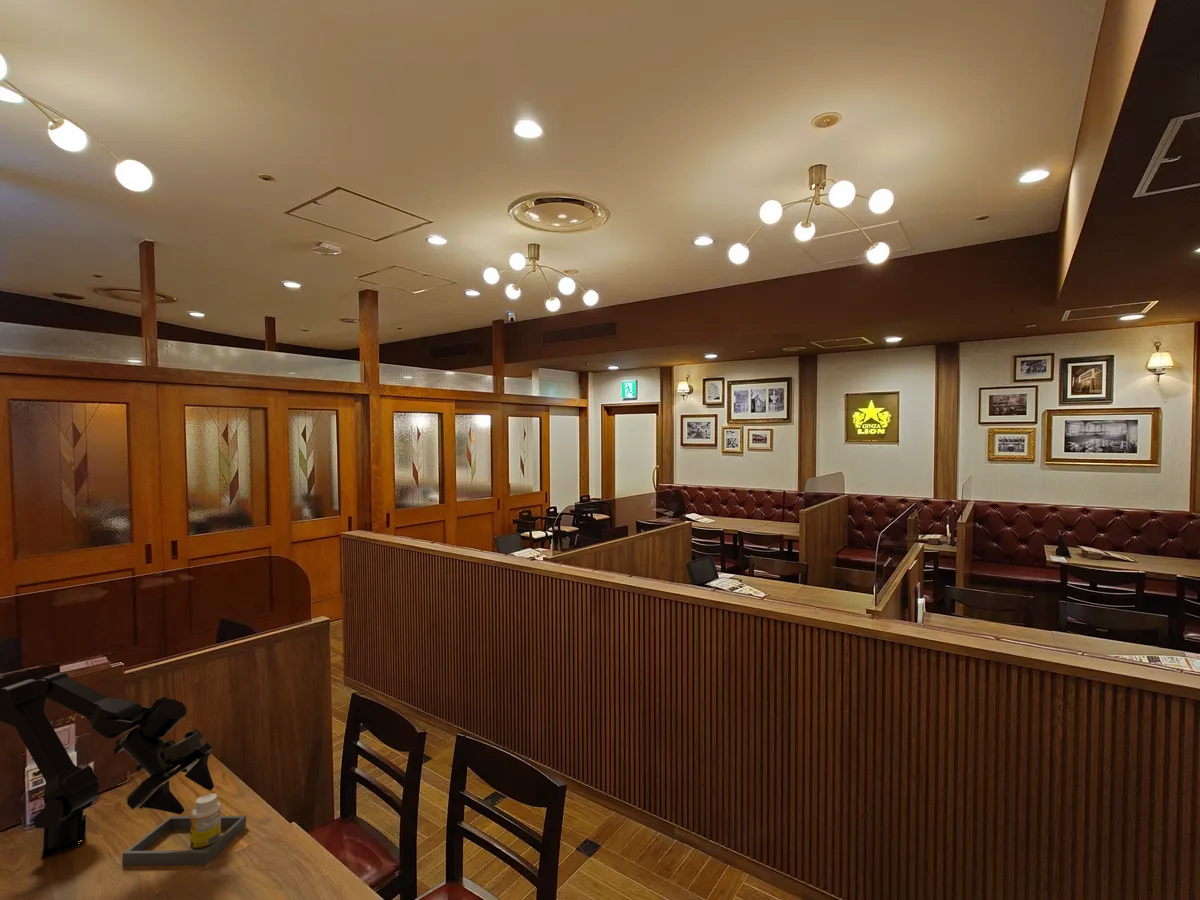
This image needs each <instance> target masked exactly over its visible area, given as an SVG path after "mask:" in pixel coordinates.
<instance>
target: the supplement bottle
mask: <svg viewBox="0 0 1200 900" xmlns="http://www.w3.org/2000/svg"><path fill="white" fill-rule="evenodd" d="M194 806H195V807H194V808H193V809H192V810H191V812H190V816H191V829H190V839H189V840H190V843H189V846H190V850H207V849H208V848H209V847H210V846H211V845H212V844H213V843H214V842H215V841H216V840H217V839H219V838H220V837H221V830H222V829H221V816H222V803H221V802H219V801H218V794H216V793H207V794H204V795H201V796H200V797H198V798H196V800H195V805H194Z"/></svg>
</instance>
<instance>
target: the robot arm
mask: <svg viewBox="0 0 1200 900" xmlns="http://www.w3.org/2000/svg"><path fill="white" fill-rule="evenodd" d="M47 698H48V699H49V700H50V701H53V702H55V703H57V704H59V705H61V706H63V707H65V708H66V709H69V710H70V711H73V712H75V713H77V714H78V715H80V716H83V717H84V718H85V719H87V720H88V721H89V722H90V727H91V729H92V730H94V731H95V732H96V733H98V734H99V735H100V736H101V737H103V738H105V739H109V740H111V739H114V738H117V737H119V736H121V735H122V734H125V733H126V732H128V731H129V733H128V734H126V735H125V736H122V737H121V738H118V739H116V740H115V746H114V749H113V754H114V755H118V753H120V752H122V751H125V752H127V754H128V755H130V757H131V758H132V759H133V760H134V761H135V762H136V763H137V764H138V765H137V766H136V767H135V770H136V771H137V772H141V771H142V770H144V771H145V772H146V774H148V775H149V777H147V778H146V779H145V780H143V781H141V783H140V784H139V785H138V786H137V787H136V788H134V790H133V791H132V792H131V793H130V794H129V795H128V796H126V804H127V805H128V807H130V809H131V810H135V809H136V808H138V809H140V810H142V809H143V808H145V809H153V810H158V811H163V812H168V813H173V814H176V815H182V814H183V813H184V812H185V808H184V806H183V805H182V804H181V802H180V801H179V800H178V798H176V797H175V795H174V794H173V793H172V792H171V790H170V781H169V780H170V779H172V778H173V777H175V776H176V775H177V774H179V773H180V772H181V773H185V774H184V778H187V779H188V780H190V781H192V782H193V783H195V784H197V785H199V786H200V787H201V788H204V789H205V790H208V791H210V792H211V791H212V790H213V789H214V788H215V785H214V782H213V779H212V776H211V773H210V769H209V765H208V761H209V757H210V756H211V754H212V753H211V751H212V750H213V749H214V748H213V747H212V746H211V745H210V744H209V742H201V741H203V740H204V734H203V733H202V732H201V731H200V730H199V729H198V728H196V727H195V728H194V729H191V730H189V731H187V732H186V733H185V734H184V738H183V739H182V740H180V741H178V742H176V741H175V740H173V739H169V740H168V741H166V740H165V739H164V738H163V737H164V736H167V734H168V733H169V732H171V731H172V730H173V728H174V727H175V726H176V725H178V723H179V722H181V720H182V719H183V718H184V717H185V716H186V715H187V707H186V705H185V704H184V703H183V702H182V701H179V700H176V699H173V698H169V699H168V697H167V696H166V695H164V696H162V697H160V698H158V699H156V700H155V701H154V702H153V704H152V705H151V707H150V706H143V705H141V704H140V703H138V702H136V701H133V700H129V699H123V698H113V697H112V698H111V697H108V696H105V695H104V694H102V693H100V692H98V691H96V690H94V689H93V688H90V687H89V686H86V685H84V684H82V683H80V682H78V681H76V680H75V679H73V678H71V677H69V675H68V674H67V672H66V673H65V672H55V673H52V674H50V675H47V676H45V677H41V678H39V679H32V678H31V679H30V678H29V679H26V680H23V681H20V682H17V683H14V684H11V685H8V686H5V687H1V688H0V722H2V723H4V724H7V725H9V726H12V727H14V729H15V730H16V731H17V733H18V735H19V737H20V738H21V740H22V742H23V744H24V746H25V748H26V750H27V751H28V753H29V755H30V756H31V759H32V760H33V761H34V763H35V765H36V767H37V768H38V771H39V772H40V774H41V775H42V777H43V779H44V781H45V786H44V787H45V788H44V791H43V797H42V799H43V802H44V805H45V806H44V807H43V808H42V809H41V810H39V812H38V813H37V814H36V815H35V816H34V817H33V818H32V821H33V825H34V827H35V829H43V840H42V841H43V842H42V850H41V851H42V852H41V855H40V857H41V858H46V857H50V856H52V854H53V855H55V854H54V853H56V854H59V853H60V852H59V851H62V852H64V851H63V850H66V849H69V848H72V847H75V846H78V845H80V844H82V845H83V841H82V842H78V841H80V840H82V839H83V840H84V839H85V838H86V836H87V823H88V821H87V819H88V818H87V817H88V816H87V814H84V810H86V809H88V808H90V807H92V805H93V803H94V800H95V798H96V797H97V796H98V792H99V790H100V784H99V782H98V781H100V778H99V777H98V776H97V775H96V774H95V772H94V769H93V767H92V766H90V765H87V766H85V767H84V768H82V767H80V766H76V765H75V764H74V762H73V759H71V757H70V755H69V753H68V752H67V750H66V747H65V746H64V744H63V742H62V741H61V738H60V737H59V736H58V734H57V732H56V731H55V729H54V727H53V725H52V723H51V722H50V720H49V718H48V716H47V714H46V713H45V709H46V704H47V700H48V699H47ZM137 726H139V727H137ZM130 730H131V731H130ZM78 843H80V844H78ZM78 847H79V846H78ZM75 848H76V847H75ZM72 849H73V848H72ZM69 850H70V849H69ZM66 851H67V850H66ZM58 852H59V853H58Z"/></svg>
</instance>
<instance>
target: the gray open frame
mask: <svg viewBox="0 0 1200 900" xmlns="http://www.w3.org/2000/svg"><path fill="white" fill-rule="evenodd" d="M246 827H247V815H221V830H226V831H225V832H224V833H223V834H222V835H220V838H219V839H217V840H216V841H215V842H214V843H213V844H212V845H211V846H210V847H209V848H208V849H207V850H191V849H189V850H188V849H187V850H183V849H182V850H181V849H180V850H178V849H177V850H176V849H175V850H147V849H148V848H150V847H151V846H152V845H153V844H155V843H156V842H157V841H159V840H160V839H161V838H162V837H164V836H165V835H166V834H167V833H168V832H170V831H172V830H191V815H189V816H188V815H187V816H186V815H184V816H182V815H181V816H168V817H167V818H166V819H165V820H164V821H162V822H161V823H160V824H159V825H157V826H156V827H155V828H153V829H152V830H151V831H150V832H148V833H146V835H144V836H143V837H142V838H140V839H139V840H138V841H136V842H135V843H134V844H132V845H131V846H130V847H129V848H128V849H126V850H125V851H124V852H123V853H122V858H121V859H122V860H121V861H122V862H121V863H122V864H121V866H123V867H124V866H125V867H126V866H131V867H132V866H133V867H134V866H207V865H208V864H209V863H210V862H211V861H213V859H215V857H217V856H218V854H220V853H221V852H222V851H223V850H224V849H225V848H226V847H227V846H228V845H229V844H230V843H231V842H232V841H233V840H234V839H235V838H236V837H237V836H238V835H239V834H240V833H241V832H242V831H244V829H245V828H246Z"/></svg>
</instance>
